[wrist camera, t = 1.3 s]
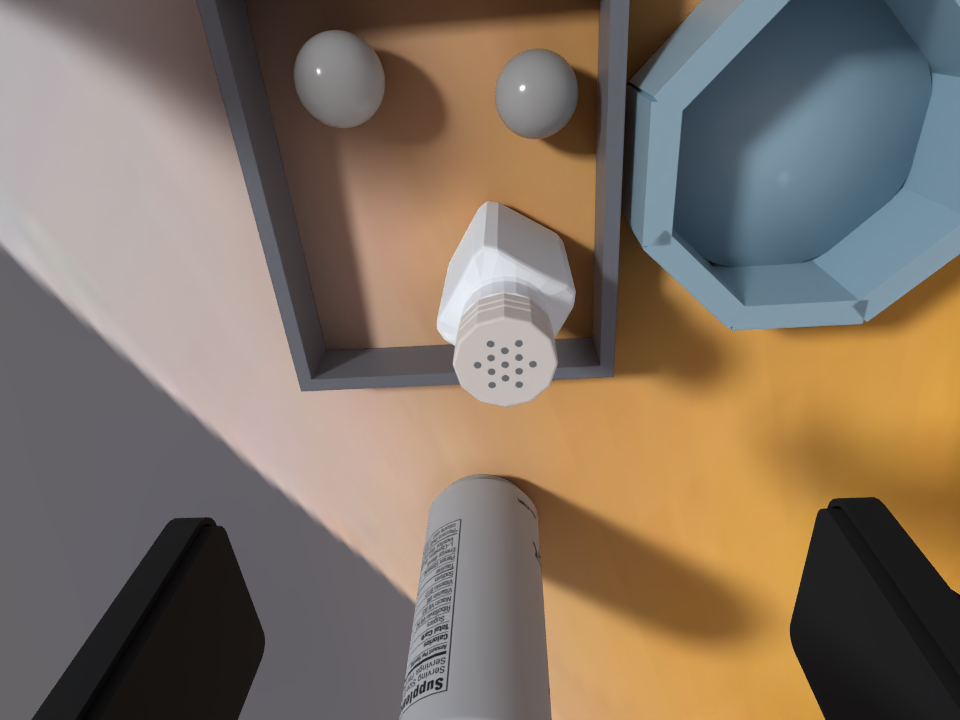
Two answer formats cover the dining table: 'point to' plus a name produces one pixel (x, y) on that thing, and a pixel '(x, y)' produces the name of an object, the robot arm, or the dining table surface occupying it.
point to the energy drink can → (479, 609)
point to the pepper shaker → (506, 306)
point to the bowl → (798, 156)
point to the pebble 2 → (536, 93)
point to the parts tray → (284, 250)
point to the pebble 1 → (339, 78)
